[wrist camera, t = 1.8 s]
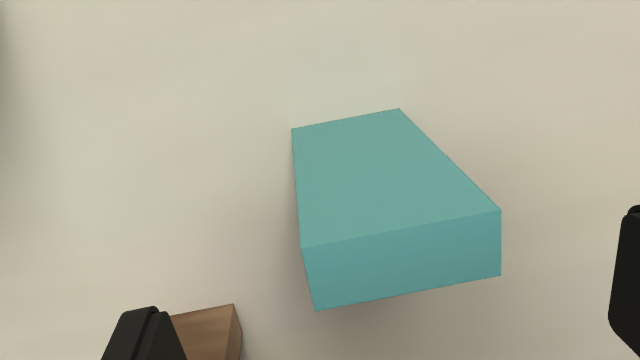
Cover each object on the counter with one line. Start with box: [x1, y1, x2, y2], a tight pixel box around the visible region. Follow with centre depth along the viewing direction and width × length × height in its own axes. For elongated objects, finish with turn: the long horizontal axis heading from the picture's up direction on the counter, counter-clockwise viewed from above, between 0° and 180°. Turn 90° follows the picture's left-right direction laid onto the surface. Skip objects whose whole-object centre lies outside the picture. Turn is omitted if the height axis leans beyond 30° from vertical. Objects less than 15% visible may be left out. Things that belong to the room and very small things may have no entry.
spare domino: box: [291, 108, 501, 311], centre depth 15 cm, size 5×2×10 cm, turn 100°
